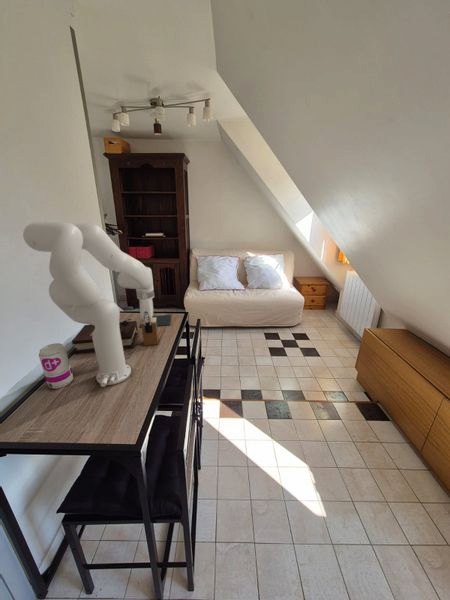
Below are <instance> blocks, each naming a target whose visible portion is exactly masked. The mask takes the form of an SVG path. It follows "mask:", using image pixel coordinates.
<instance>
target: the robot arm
mask: <svg viewBox="0 0 450 600" xmlns="http://www.w3.org/2000/svg"><path fill="white" fill-rule="evenodd" d="M22 237H23V241H24V243H25V244H26V245H27V246H28V247H29V248H31V249H32V250H34V251H38V252H43V253H45V252H46V253H50V258H49V263H48V264H49V265H48V269H49V274H50V276H51V277H52V279H53V280H51V282H50V283H49V287H48V294H49V297H50V299H51V301H52V302H53V304H54V305H56V307H57V308H58V309H60V310H61V312H63V313H64V314H66V316H67V317H68V318H69V319H70V320H72V321H73V322H76V323H79V324H84V325H94V326H95V330H94V333H93V337H92V339H93V344H94V348H95V352H94V353H95V357H96V361H97V367H98V373H97V374H96V376H95V378H96V382H97V383H98V384H100V387H102V388H105V387H106V386H113V385H116V384H119V383H121V382H123V381H125V380H127V379H128V378H129V377H130V375H131V374H132V369H131V368H132V367H131V366H130V365H128V364H126V359H125V351H124V349H123V345H122V340H121V334H120V327H119V322H120V316H121V315H120V314H121V311H120V307H119V305H118V304H117V303H115V302H114V301H112V300H110V299H105V298H103V299H102V293H101V289H100V288H99V286H98V284H96V282H95V281H94V279H93V278H92V277H91V276H90V274H89V273H88V272H87V271H86V269H85V268H84V266H83V264H82V262H81V253H82V250H85V251H87V252H88V253H89V254H90V255H91V256H92V257H93V258H94V259H95V260H96V261H97V262H98V263H100V265H101V266H102V267H104V268H105V269H108V270H110V271H113V272H116V273H119V274H118V276H117V278H116V279H117V283H118V285H119V286H120V287H121V288H123V289H132V290H135V291H136V297H137V300H139V315H140V316H139V317H140V321H142V320H143V319H144V321H145V332H146V333H152V332H153V330H152V325H151V319H152V318H153V317H152V316H154V302H153V299H154V298H155V291H154V278H153V271H152V268H151V267H149V266H146V265H144V264H143V262H141V261H140V260H138V259H136V258H134V257H133V256H131V255H130V254H128V253H126V252H124V251H122V250H121V248H119V246H118V245H117V244H116V243H115V241H113V240H112V238H111V237H110V236H109V235H108V234H107V233H106V232H105V231H104V229H103V228H102V227H101V226H100V225H98V224H95V223H88V222H87V223H83V222H82V223H81V222H79V223H78V222H72V223H70V222H65V221H34V222H31V223H29V224H27V225H26V226H25V228H24V229H23V233H22ZM148 318H150V319H148ZM148 320H149V321H148ZM149 322H150V323H149Z"/></svg>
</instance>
